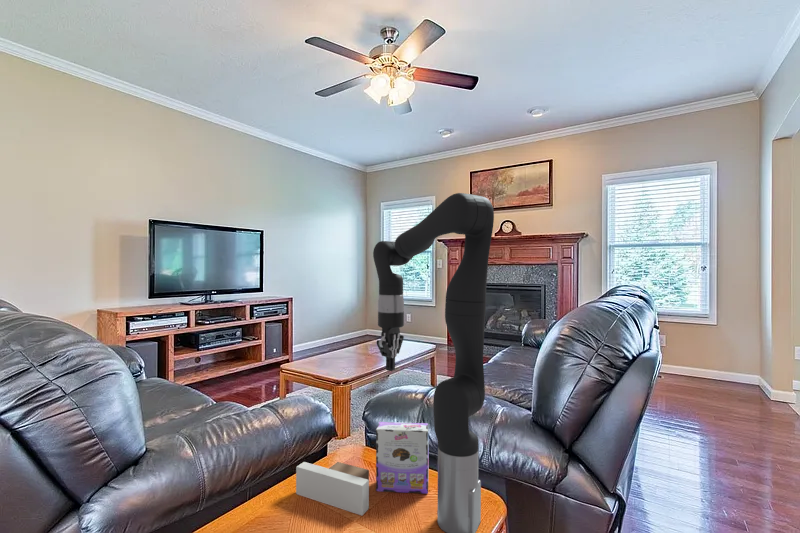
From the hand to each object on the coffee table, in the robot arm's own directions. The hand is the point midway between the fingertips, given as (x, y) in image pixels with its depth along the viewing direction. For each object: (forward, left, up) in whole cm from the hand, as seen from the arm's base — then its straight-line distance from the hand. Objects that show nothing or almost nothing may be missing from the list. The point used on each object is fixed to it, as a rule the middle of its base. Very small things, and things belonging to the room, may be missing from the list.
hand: (390, 370), depth 115 cm
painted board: (+6, +20, -29) cm, 36 cm away
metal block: (+6, +14, -29) cm, 33 cm away
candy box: (-7, +6, -29) cm, 31 cm away
